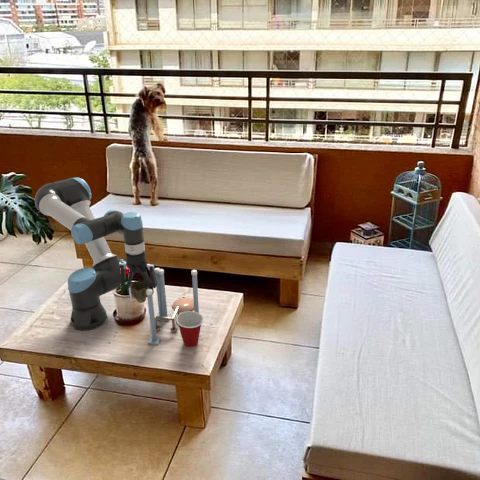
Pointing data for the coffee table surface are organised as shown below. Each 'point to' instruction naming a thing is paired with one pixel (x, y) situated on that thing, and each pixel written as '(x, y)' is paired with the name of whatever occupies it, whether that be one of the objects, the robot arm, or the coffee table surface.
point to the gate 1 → (149, 292)
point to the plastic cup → (189, 327)
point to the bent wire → (168, 319)
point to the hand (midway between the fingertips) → (141, 300)
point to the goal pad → (184, 304)
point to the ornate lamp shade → (139, 290)
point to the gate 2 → (195, 291)
